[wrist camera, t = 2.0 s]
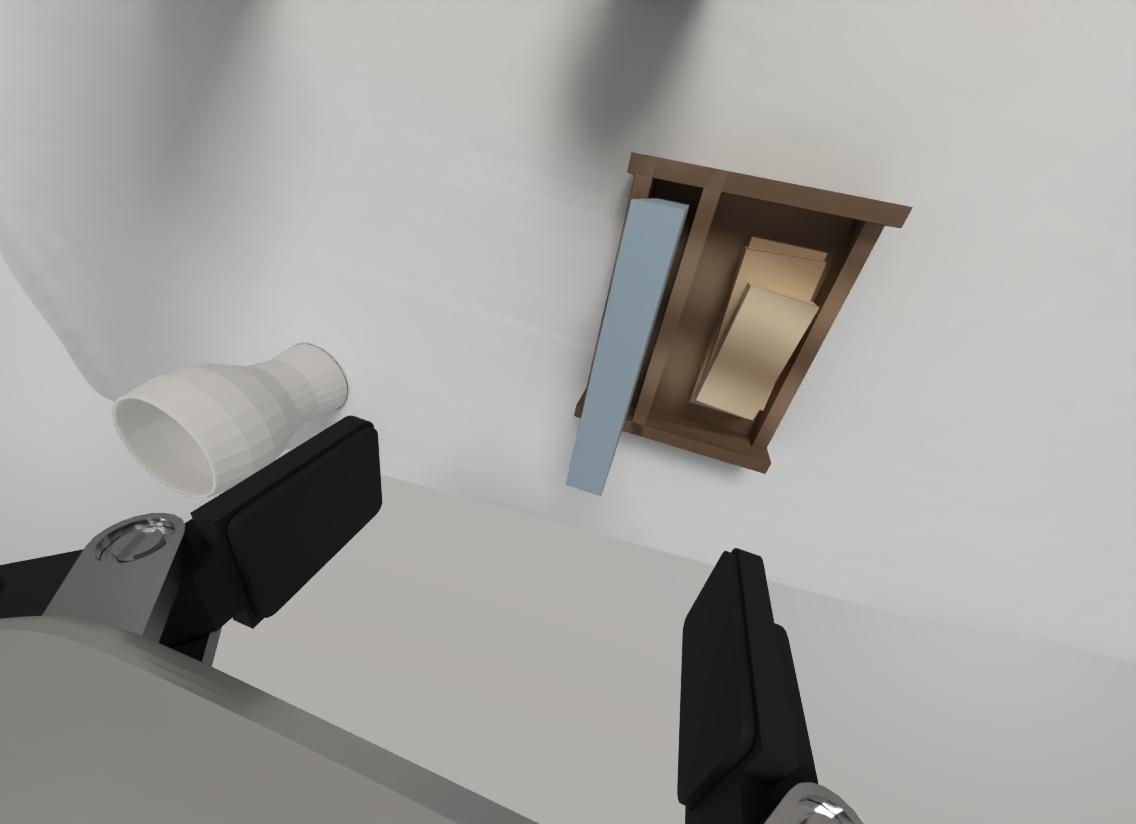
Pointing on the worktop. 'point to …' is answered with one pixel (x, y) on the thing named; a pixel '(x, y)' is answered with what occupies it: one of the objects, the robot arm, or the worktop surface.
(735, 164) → the worktop surface
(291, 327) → the worktop surface
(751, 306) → the offcut top
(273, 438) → the cup
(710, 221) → the rack
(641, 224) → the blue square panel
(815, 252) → the block
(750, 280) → the offcut middle
